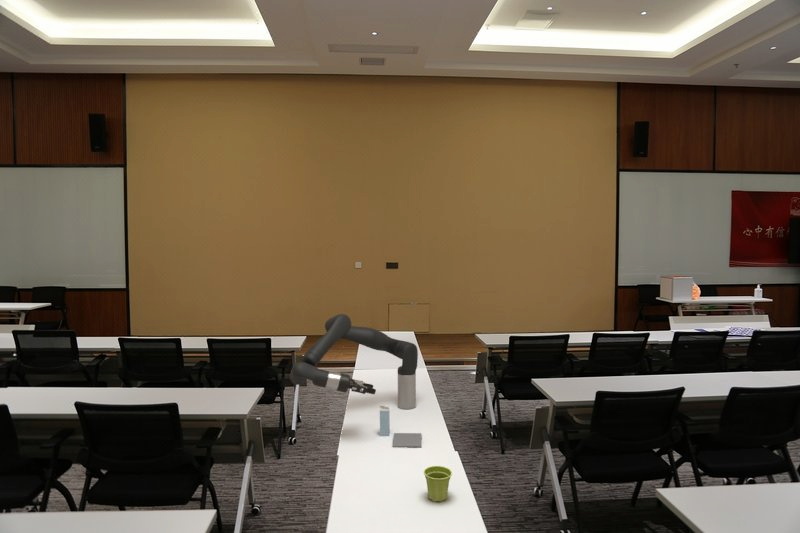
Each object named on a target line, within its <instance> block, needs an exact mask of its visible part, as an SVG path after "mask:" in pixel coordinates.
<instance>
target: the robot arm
mask: <svg viewBox="0 0 800 533" xmlns="http://www.w3.org/2000/svg"><path fill="white" fill-rule="evenodd" d="M324 329H325V331H326V333H324V334H323V335H322V336H321V337H320V338H318V339H317V340H316V341H315V342H314V343H313V344H312V345H311V346H309V348H308V349H307V351H306V352H305V353H304V355H302V357H301V358H302V359H301V360H300V361H299V362H295V363H294V364H293V366H292V368H291V371H290V375H289V379H290V382H291V383H292V384H294V385H302V384H304V383H305V382H306V381H307V380H309V381H311V383H312V384H313V386H316V387H320V388H324V389H328V390H332V391H335V392H341V393H347V392H348V389H349V390H351V391H350V392H355V393H359V394H363V395H365V394H371V395H375V394H376V392H377V390H376V389H375V388H374V385H373V384H372V383H366V382H365V381H363V380H360V379H354V378H351V375H350V374H347V373H343V372H342V373H341V372H338V371H337V372H336V371H330V370H325V369H322V368H321V369H320V368H318V367H316V366H317V365H318V364H319V363H320V361H321V360H322V359H323V358H324V357H325V355H326V354H327V352H328V351H330V349H331V348H332V347H333V346H334V345H335V344H336V343H337V342H338V340H340V339H344V340H347V341H350V342H352V343H356V344H358V345H360V346H361V345H362V346H364V347H367V348H368V349H373V350H375V351H381V352H386V353H389V354H391V355H393V356H395V357H396V358H398V359H400V360H401V361H402V363H401V365H400V366H398V368H397V407H398V408H399V409H401V410H402V409H403V410H413V409H415V408H416V406H417V400H416V399H417V393H416V392H417V387H416V386H417V384H416V383H417V377H416V376H417V374H416V372H417V369H418V368H417V367H418V360H419V359H418V357H419V356H418V355H419V354H418V353H419V351H418V347H417V345H416V344H415V343H412V342H411V341H410V342H409V341H405V340H400V339H396V338H392V337H390V336H389V335H388V334H386V333H384V332H382V331H380V330H378V329H375V328H372V327H367V326H356V325H355V326H354V325H352V321H351V318H350V316H348V315H347V314H344V313H340V314H337V315H334V316H332V317H330V318H329V319H327V320H326V321H325V323H324Z"/></svg>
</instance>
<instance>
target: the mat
mask: <svg viewBox="0 0 800 533" xmlns="http://www.w3.org/2000/svg"><path fill="white" fill-rule="evenodd" d="M392 438H393V439H392V447H407V448H409V449H411V448H413V449H415V448H416V449H419V448H422V446H423V445H422V444H423V442H422V433H421V432H393V437H392ZM407 448H406V449H407Z"/></svg>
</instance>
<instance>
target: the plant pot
mask: <svg viewBox="0 0 800 533" xmlns="http://www.w3.org/2000/svg"><path fill="white" fill-rule="evenodd" d="M423 475H424V476H425V477H424V478H425V480H426V488H427V493H428V494H427V495H428V499H429V498H430V499H429V500H432V501H433V500H434V501H433V502H436V501H441V502H444V500H447V499H446V498H448V491H449V484H450V479H451V477H452V475H453V472H452V470H451V469H450V468H449V467H446V466H441V465H431V466H428V467H426V468H425V469H424V470H423Z"/></svg>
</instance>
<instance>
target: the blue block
mask: <svg viewBox="0 0 800 533" xmlns="http://www.w3.org/2000/svg"><path fill="white" fill-rule="evenodd" d="M390 426H391V425H390V405H380V406H379V437H390V434H389V433H390V432H391V431H390V430H391V429H390Z"/></svg>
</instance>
